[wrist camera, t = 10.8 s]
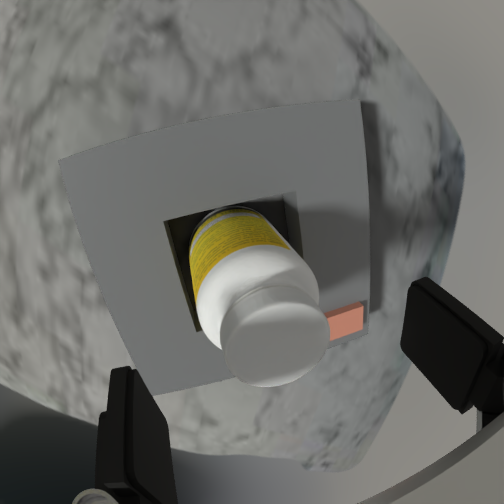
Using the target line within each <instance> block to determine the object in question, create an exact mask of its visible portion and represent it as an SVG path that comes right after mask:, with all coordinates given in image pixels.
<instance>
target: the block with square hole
mask: <svg viewBox="0 0 504 504" xmlns="http://www.w3.org/2000/svg"><path fill="white" fill-rule="evenodd" d="M58 162H59V166H60V170H61V174H62V178H63V182H64V185H65V189H66V192H67V196H68V199H69V203H70V206H71V209H72V213H73V216H74V219H75V222H76V225H77V228H78V231H79V234H80V237H81V240H82V243H83V246H84V249H85V251H86V254H87V257H88V260H89V262H90V265H91V268H92V270H93V273H94V275H95V278H96V280H97V283H98V285H99V288H100V290H101V293H102V295H103V298H104V300H105V302H106V305H107V307H108V309H109V312H110V314H111V316H112V318H113V321H114V323H115V325H116V327H117V329H118V331H119V334H120V336H121V338H122V340H123V342H124V344H125V346H126V348H127V350H128V352H129V354H130V356H131V358H132V360H133V362H134V364H135V366H136V368H137V370H138V372H139V374H140V376H141V377H142V379H143V381H144V383H145V385H146V386H147V388H148V390H149V392H150V393H151V395H152V396H154V395H159V394H165V393H169V392H174V391H179V390H184V389H188V388H193V387H197V386H201V385H206V384H210V383H214V382H218V381H222V380H226V379H230V378H234V377H235V376H234V375H233V374H232V373H231V371H230V370H229V368H228V366H227V364H226V361H225V357H224V353H223V350H221V349H220V348H218V347H217V346H216V345H214V344H213V343H212V342H211V341H210V340H209V338H208V337H207V336H206V334H205V333H204V331H203V329H202V327H201V325H200V322H199V318H198V314H197V310H193V308H192V305H191V301H190V298H189V295H188V292H187V288H186V285H185V282H184V278H183V275H182V271H181V268H180V264H179V261H178V257H177V254H176V250H175V247H174V243H173V239H172V236H171V232H170V228H169V224H168V221H167V220H170V219H174V218H178V217H182V216H186V215H190V214H194V213H198V212H202V211H206V210H211V209H215V208H219V207H223V206H228V205H232V204H236V203H241V202H245V201H249V200H254V199H258V198H263V197H268V196H272V195H277V194H282V193H283V200H284V207H285V214H286V222H287V229H288V237H289V244H290V246H291V247H292V248H293V249H294V250H295V251H296V252H297V253H298V255H299V256H300V257H301V258H302V259H303V260H304V261H305V262H306V263H307V265H308V266H309V268H310V269H311V270H312V272H313V274H314V276H315V278H316V280H317V284H318V289H319V304H318V306H319V308H320V309H321V310H322V312H323V313H324V315H325V316H326V318H327V320H328V323H329V326H330V341H329V345H328V348H327V349H329V348H332V347H334V346H337V345H340V344H343V343H346V342H348V341H351V340H354V339H356V338H359V337H362V336H364V335H367V334H368V326H369V304H370V214H369V192H368V176H367V162H366V151H365V140H364V130H363V121H362V113H361V105H360V99H355V100H339V101H326V102H314V103H304V104H295V105H287V106H279V107H271V108H264V109H257V110H251V111H245V112H239V113H233V114H227V115H222V116H216V117H211V118H206V119H201V120H197V121H192V122H187V123H183V124H178V125H174V126H170V127H166V128H162V129H158V130H154V131H150V132H146V133H142V134H139V135H135V136H132V137H128V138H125V139H121V140H118V141H114V142H111V143H108V144H105V145H101V146H98V147H95V148H92V149H89V150H86V151H83V152H80V153H77V154H74V155H71V156H69V157H66V158H63V159H60V160H58Z"/></svg>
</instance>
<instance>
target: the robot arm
mask: <svg viewBox="0 0 504 504" xmlns="http://www.w3.org/2000/svg"><path fill="white" fill-rule="evenodd" d="M503 339H504V337H503V336H502V335H500V334H499V333H498V332H497V331H495V329H493V328H492V327H491V326H490V325H488V324H487V323H486V322H485V321H484V320H482V319H481V318H480V317H479V316H477V315H476V314H475V313H474V312H472V311H471V310H470V309H469V308H467V307H466V306H465V305H463V304H462V303H461V302H460V301H458V300H457V299H456V298H455V297H453V296H452V295H450V294H449V293H448V292H447V291H445V290H444V289H443V288H442V287H440V286H439V285H438V284H436V283H435V282H434V281H432V280H431V279H430V278H428V277H423V278H421V279H418V280H416V281H414V282H412V283H411V286H410V287H409V289H408V294H407V302H406V310H405V317H404V323H403V330H402V336H401V342H400V345H401V349H402V351H403V352H404V353H405V354H406V356H407V357H408V358H409V359H410V360H411V361H412V362H413V363H414V364H415V366H416V367H417V368H418V369H419V370H420V371H421V372H422V373H423V374H424V376H425V377H426V378H427V379H428V380H429V381H430V382H431V384H432V385H433V386H434V387H435V388H436V389H437V390H438V392H439V393H440V394H441V395H442V396H443V397H444V398H445V400H446V401H447V402H448V403H449V404H450V405H451V407H452V408H454V409H456V410H459V412H460V413H461V414H463V413H465V412H466V411H468V410H469V409H470V408H472V407H473V405H474V406H475V407H476V408H477V430H476V432H477V433H476V434H475V435H474V436H472V437H471V438H470V439H468V440H467V441H466V442H464V443H463V444H461V445H460V446H459V447H457V448H456V449H454V450H453V451H451V452H450V453H448V454H447V455H445V456H444V457H442V458H441V459H439V460H437V461H436V462H434V463H433V464H431V465H430V466H428V467H426V468H425V469H423V470H421V471H420V472H418V473H416V474H414V475H413V476H411V477H409V478H408V479H406V480H404V481H402V482H400V483H398V484H396V485H395V486H393V487H391V488H389V489H387V490H385V491H383V492H381V493H379V494H377V495H375V496H373V497H371V498H368V499H367V500H364V501H362V502H360V503H357V504H504V344H503V343H502V342H503ZM72 504H178V501H177V495H176V487H175V480H174V474H173V465H172V457H171V448H170V439H169V429H168V424H167V421H166V419H165V417H164V415H163V414H162V412H161V410H160V409H159V407H158V405H157V404H156V402H155V400H154V399H153V397H152V395H151V393H150V392H149V390H148V388H147V386H146V385H145V383H144V381H143V379H142V377H141V376H140V374H139V372H138V370H137V369H134V370H132V369H131V367H130V366H125V367H120V368H115V369H112V370H111V375H110V383H109V392H108V402H107V411H105V412H102V413H101V414H100V417H99V424H98V437H97V450H96V468H95V489H89V490H85V491H83V492H81V493H80V494H79V495H78V496H77V497H76V498H75V500H74V501H73V503H72Z"/></svg>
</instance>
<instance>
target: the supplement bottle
mask: <svg viewBox="0 0 504 504" xmlns="http://www.w3.org/2000/svg"><path fill="white" fill-rule="evenodd" d="M189 263H190V270H191V277H192V284H193V290H194V297H195V304H196V310H197V314H198V318H199V322H200V325H201V327H202V329H203V331H204V333H205V334H206V336H207V337H208V338H209V340H210V341H211V342H212V343H213V344H214V345H216V346H217V347H218V348H220V349H221V350H223V353H224V357H225V361H226V364H227V366H228V368H229V370H230V371H231V373H232V374H233V375H234V376H235V377H236V378H238V379H239V380H240V381H242V382H244V383H247V384H249V385H253V386H259V387H273V386H279V385H283V384H287V383H289V382H292V381H294V380H296V379H298V378H300V377H302V376H303V375H305V374H306V373H308V372H309V371H310V370H311V369H313V368H314V367H315V366H316V365H317V363H318V362H319V361H320V360H321V358H322V357H323V355H324V354H325V352H326V350H327V348H328V345H329V341H330V326H329V323H328V320H327V318H326V316H325V315H324V313H323V312H322V310H321V309H320V308H319V306H318V304H319V289H318V284H317V280H316V278H315V276H314V274H313V272H312V270H311V269H310V268H309V266H308V265H307V263H306V262H305V261H304V260H303V259H302V258H301V257H300V256H299V255H298V253H297V252H296V251H295V250H294V249H293V248H292V247H291V246H290V245H289V243H288V242H287V241H286V240H285V239H284V238H283V237H282V235H281V234H280V233H279V232H278V231H277V230H276V229H275V228H274V227H273V225H272V224H271V223H270V222H269V221H268V220H267V219H266V218H265V217H264V216H263V215H262V214H260V213H259V212H257V211H255V210H253V209H251V208H248V207H243V206H227V207H222V208H219V209H217V210H215V211H213V212H211V213H209V214H208V215H206V216H205V217H204V218H203V219H202V220H201V221H200V222H199V223H198V225H197V226H196V228H195V229H194V231H193V233H192V235H191V238H190V242H189Z"/></svg>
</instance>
